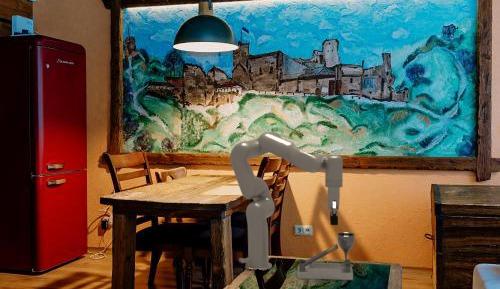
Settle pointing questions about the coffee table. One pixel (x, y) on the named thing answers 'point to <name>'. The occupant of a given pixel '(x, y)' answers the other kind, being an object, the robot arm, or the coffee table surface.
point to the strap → (320, 255)
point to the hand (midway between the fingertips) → (333, 222)
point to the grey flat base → (325, 271)
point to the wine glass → (345, 243)
